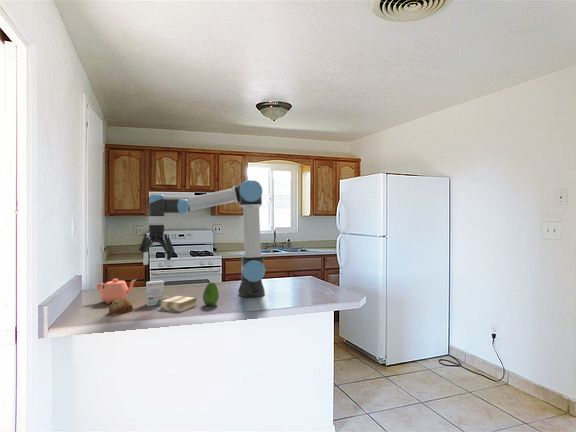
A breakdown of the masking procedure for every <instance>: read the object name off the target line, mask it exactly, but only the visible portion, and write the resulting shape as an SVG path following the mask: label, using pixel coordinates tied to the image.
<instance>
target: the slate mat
mask: <svg viewBox="0 0 576 432" xmlns="http://www.w3.org/2000/svg"><path fill="white" fill-rule="evenodd" d="M196 306H198V304H196ZM196 306H194V307H193V308H195V307H196ZM148 310H153V311H161V312H163V311H164V312H169V313H177V314H178V313H181V312H183V311H181V312H180V311H172V310H164V309H161V305H154V306H153V307H152V306H151V307H149V308H148Z"/></svg>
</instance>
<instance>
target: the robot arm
mask: <svg viewBox="0 0 576 432" xmlns="http://www.w3.org/2000/svg"><path fill="white" fill-rule="evenodd" d="M262 195H263V186H262V184H261V183H260V182H259V181H257V180H255V179H250V178H249V179H246V180H244V181H243V182H242V183H241V184H238V185H236V186H235V185H234V186H232V188H228V189H224V190H219V191H218V190H217V191H214V192H208V193H205V194H203V193H202V194H200V195H195V196H190V197H185V198H166V197H165V195H164V194H150V195H149V197H148V198H149V201H148V224H149V225H148V233H144V235H143V236H144V237H143V239H142V241H141V244H140V246H139V249H138V251H139V252H141V253H142V255H141V257H142V260H143V266H147V265H149V251H148V250H149V249H150V248H151V246H152V245H153V244H154V243H159V244H160V245H161V247H162V248H163V250H164V251H165V254H164V267H166V268H167V267H170V266H171V265H170V264H171V262H170V261H171V259H172V253H174V252H175V248H174V247H173V244H172V241H171V239H170V234H168V233H165V214H188V213H189V212H191V211H196V210H201V209H206V208H211V207H214V206H215V207H216V206H221V205H226V204H229V203H237V204H239V205H240V207H241V208H242V211H243V213H242V215H243V219H242V220H243V239H244V242H243V243H244V244H243V245H244V253H243V254H242V255H241V257H240V258H241V259H240V261H241V267H240V269H241V270H240V271H241V273H240V275H241V276H240V277H241V280H240V285H239V287H238V294H237V296H239V297H243V298H259V297H263V296H265V293H266V292H265V288H264V285H263V277H264V276H265V273H266V268H265V262H264V259H265V256H264V254H263V253H262V252H261V251H262V249H261V226H260V225H261V224H260V223H261V222H260V207H261V206H262V205H263V202H262V201H263V200H262V199H263V198H262Z"/></svg>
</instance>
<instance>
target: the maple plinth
mask: <svg viewBox="0 0 576 432" xmlns="http://www.w3.org/2000/svg"><path fill="white" fill-rule="evenodd" d="M164 299H165V298H164ZM196 305H197V297H192V296H191V297H190V296H182V295H175V296H172V297H168V298H166V299H165V300H162V301H161V309H164V310H172V311H180V312H179V313H181V311H182V312H185V311H187V310H190V309H191V308H195V307H196ZM194 306H195V307H194Z"/></svg>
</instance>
